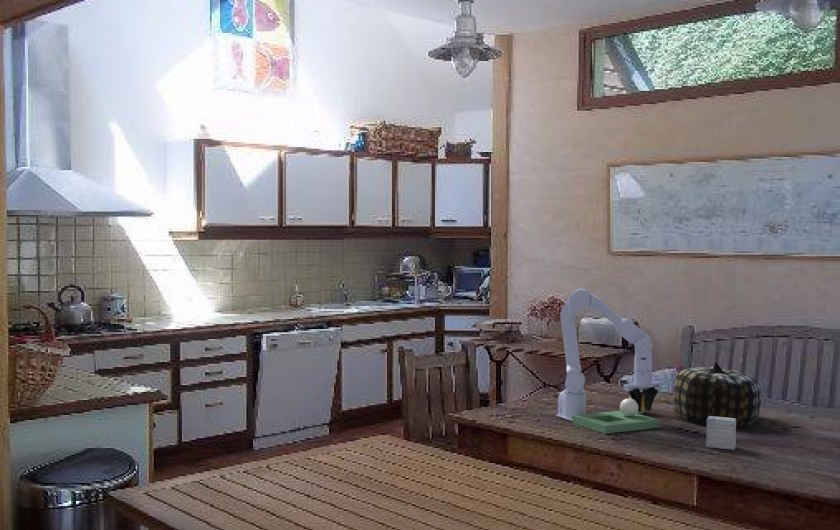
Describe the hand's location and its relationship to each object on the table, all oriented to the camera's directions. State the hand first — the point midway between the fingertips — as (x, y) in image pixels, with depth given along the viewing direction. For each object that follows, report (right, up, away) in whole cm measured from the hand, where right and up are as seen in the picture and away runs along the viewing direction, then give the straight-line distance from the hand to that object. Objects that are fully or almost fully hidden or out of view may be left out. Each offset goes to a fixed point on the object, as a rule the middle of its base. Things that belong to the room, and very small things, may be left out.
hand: (642, 410), depth 284 cm
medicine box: (+15, -5, -33) cm, 36 cm away
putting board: (-10, -4, -5) cm, 12 cm away
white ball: (-5, +2, -3) cm, 6 cm away
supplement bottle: (+2, -4, +17) cm, 18 cm away
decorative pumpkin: (+27, -4, +8) cm, 28 cm away
